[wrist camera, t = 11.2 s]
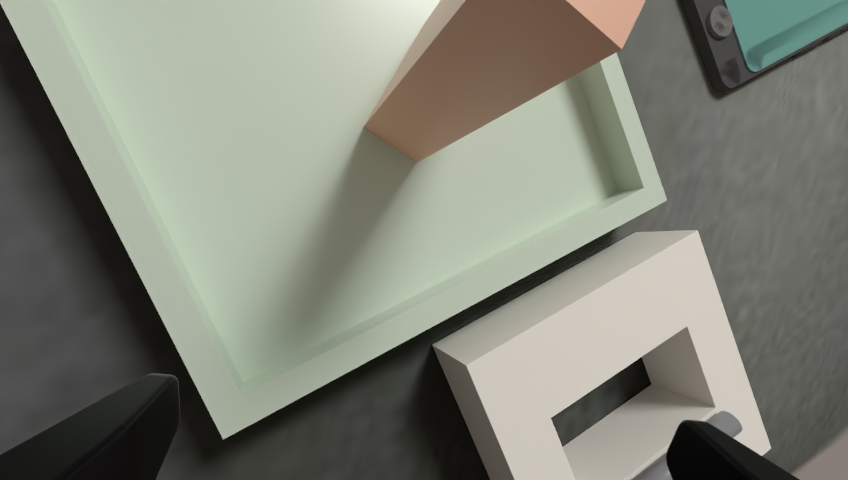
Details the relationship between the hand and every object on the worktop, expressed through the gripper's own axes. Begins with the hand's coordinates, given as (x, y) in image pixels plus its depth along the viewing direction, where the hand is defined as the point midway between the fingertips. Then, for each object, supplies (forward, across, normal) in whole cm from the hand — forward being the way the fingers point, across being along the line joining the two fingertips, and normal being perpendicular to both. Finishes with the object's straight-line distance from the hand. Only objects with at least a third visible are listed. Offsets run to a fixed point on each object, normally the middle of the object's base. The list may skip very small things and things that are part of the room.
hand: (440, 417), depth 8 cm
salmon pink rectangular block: (+13, 0, -5) cm, 14 cm away
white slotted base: (+11, -9, +7) cm, 16 cm away
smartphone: (+23, -20, -13) cm, 33 cm away
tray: (+13, +2, -4) cm, 14 cm away
